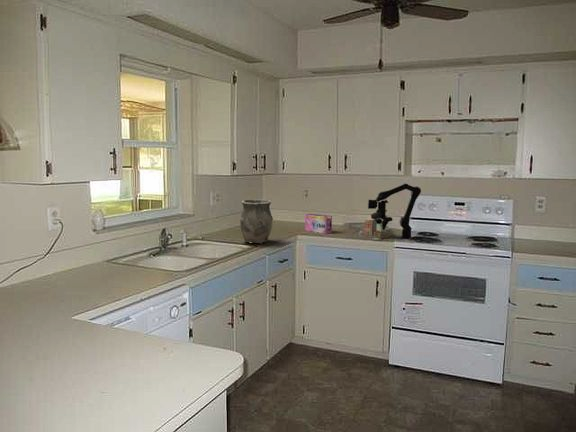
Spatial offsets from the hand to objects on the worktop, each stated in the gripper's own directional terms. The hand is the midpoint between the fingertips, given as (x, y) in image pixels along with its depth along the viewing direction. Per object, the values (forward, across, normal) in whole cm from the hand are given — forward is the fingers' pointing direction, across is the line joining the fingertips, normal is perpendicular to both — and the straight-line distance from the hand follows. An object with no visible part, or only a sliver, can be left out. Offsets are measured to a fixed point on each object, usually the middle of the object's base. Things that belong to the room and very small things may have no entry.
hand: (381, 229), depth 358 cm
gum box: (+6, -45, -29) cm, 54 cm away
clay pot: (+6, -25, -92) cm, 95 cm away
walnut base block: (+6, 0, 0) cm, 6 cm away
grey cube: (+6, -7, +11) cm, 15 cm away
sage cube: (+1, 0, 0) cm, 1 cm away
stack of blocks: (+7, -18, +7) cm, 20 cm away
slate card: (+6, +6, -9) cm, 13 cm away
